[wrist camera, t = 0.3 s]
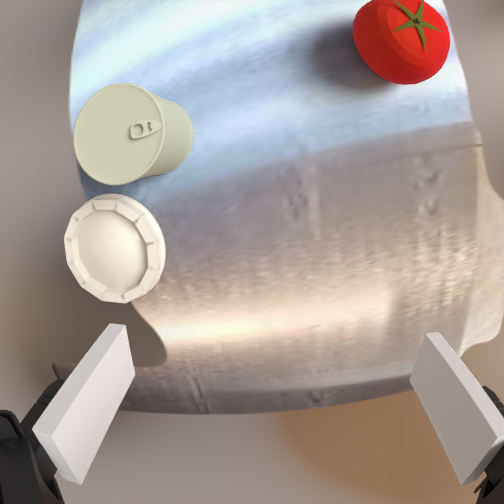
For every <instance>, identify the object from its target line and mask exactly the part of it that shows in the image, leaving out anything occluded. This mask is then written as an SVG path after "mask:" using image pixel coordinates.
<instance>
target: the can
mask: <svg viewBox="0 0 504 504" xmlns="http://www.w3.org/2000/svg"><path fill="white" fill-rule="evenodd" d="M193 141H194V128H193V124H192V121H191V119H190V117H189V115H188V114H187V112H186V111H185V110H184V109H183V108H182V107H181V106H179V105H178V104H176V103H174V102H172V101H169V100H164V99H162V98H160V97H158V96H156V95H154V94H152V93H150V92H149V91H147V90H146V89H144V88H143V87H140V86H138V85H135V84H130V83H118V84H113V85H110V86H107V87H105V88H103V89H101V90H99V91H98V92H96V93H95V94H94V95H93V96H91V98H90V99H89V100H88V101H87V102H86V103H85V105H84V106H83V107H82V109H81V111H80V113H79V115H78V117H77V120H76V123H75V127H74V134H73V144H74V151H75V154H76V157H77V160H78V162H79V164H80V166H81V167H82V169H83V170H84V171H85V172H86V173H87V174H88V175H89V176H90V177H91V178H93V179H94V180H96V181H98V182H100V183H103V184H107V185H123V184H127V183H130V182H133V181H135V180H137V179H140V178H144V177H148V176H152V175H162V174H166V173H169V172H171V171H173V170H175V169H176V168H178V167H179V166H180V165H181V164H182V163H183V162H184V161H185V160H186V158H187V157H188V155H189V153H190V151H191V149H192V146H193Z"/></svg>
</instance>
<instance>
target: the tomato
mask: <svg viewBox="0 0 504 504" xmlns="http://www.w3.org/2000/svg"><path fill="white" fill-rule="evenodd" d="M353 39H354V43H355V45H356V47H357V50H358V52H359V54H360V55H361V57H362V59H363V60H364V61H365V63H366V64H367V65H368V66H369V67H370V68H371V69H372V70H373V71H374V72H375V73H376V74H378V75H379V76H380V77H382V78H384V79H386V80H387V81H390V82H393V83H396V84H403V85H407V84H417V83H420V82H422V81H425V80H427V79H429V78H431V77H432V76H434V75H435V74H436V73H437V72H438V71H439V70H440V69H441V68H442V66H443V64H444V62H445V61H446V59H447V55H448V51H449V47H450V35H449V31H448V27H447V25H446V23H445V21H444V19H443V18H442V16H441V15H440V14H439V13H438V12H437V11H436V10H435V9H434V8H433V7H431V6H430V5H429V4H428V3H426V2H424V0H372V1H370V2H368V3H367V4H365V5H364V6H362V8H361V9H360V10H359V11H358V12H357V14H356V17H355V20H354V23H353Z"/></svg>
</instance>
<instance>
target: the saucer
mask: <svg viewBox="0 0 504 504" xmlns="http://www.w3.org/2000/svg"><path fill="white" fill-rule="evenodd" d="M64 243H65V251H66V259H67V263H68V266H69V268H70V269H71V271H72V273H73V274H74V276H75V277H76V279H77V281H78V283H79V284H80V285H81V287H83V288H84V289H86V290H87V291H88V292H90V293H91V294H93V295H94V296H96V297H97V298H99V299H100V300H102V301H110V302H118V303H127V302H129V301H131V300H133V299H136V298H138V297H141V296H143V295H144V294H146V293H147V292H149V291H150V290H151V289H152V288H153V287H154V286H155V284H156V283H157V282H158V280H159V279H160V277H161V275H162V273H163V270H164V267H165V263H166V242H165V238H164V234H163V232H162V229H161V227H160V225H159V223H158V221H157V219H156V218H155V216H154V215H153V214H152V213H151V211H150V210H149V209H148V208H147V207H146V206H144V205H143V204H142V203H140V202H139V201H138V200H136V199H134V198H132V197H130V196H127V195H123V194H119V193H107V194H102V195H99V196H96V197H94V198H91V199H90V200H88V201H87V202H85V203H84V204H83V205H82V206H81V207H80V208H79V209H78V210H77V211H76V212H75V213H74V214H73V215H72V217H71V220H70V222H69V225H68V228H67V230H66V233H65V236H64Z"/></svg>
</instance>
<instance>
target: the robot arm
mask: <svg viewBox="0 0 504 504" xmlns="http://www.w3.org/2000/svg"><path fill="white" fill-rule="evenodd" d="M134 376H135V371H134V367H133V362H132V357H131V352H130V347H129V342H128V336H127V331H126V326H125V325H119V324H109V325H108V327H107V328H106V329H105V330H104V332H103V333H102V334H101V335H100V337H99V338H98V339H97V341H96V342H95V343H94V344H93V346H92V347H91V348H90V350H89V351H88V352H87V354H86V355H85V356H84V357H83V359H82V360H81V361H80V363H79V364H78V365H77V367H76V368H75V369H74V371H73V372H72V373H71V375H70V376H69V377H68V379H67V380H62V379H58V380H56V381H55V382H53V383H52V384H50V385H49V386H48V387H47V388H46V390H45V391H44V392H43V394H42V396H40V398H39V399H38V400H37V403H35V404H34V405H33V407H32V408H31V409H30V411H29V412H28V414H27V415H26V416H25V418H24V419H23V420H22V422H21V423H19V421H18V419H17V418H16V416H15V415H14V414H13V413H12V412H11V411H8V410H0V504H65V503H64V501H63V498H62V496H61V492H60V490H59V487H58V484H57V481H56V479H55V478H54V475H55V473H56V471H57V470H58V471H59V473H60V474H61V476H62V477H63V478H64V479H67V480H70V481H72V482H75V483H78V484H82V482H83V480H84V478H85V476H86V474H87V471H88V469H89V467H90V465H91V463H92V461H93V459H94V456H95V455H96V452H97V450H98V448H99V446H100V444H101V442H102V440H103V438H104V436H105V433H106V432H107V429H108V427H109V425H110V423H111V421H112V419H113V417H114V415H115V413H116V411H117V409H118V407H119V405H120V403H121V401H122V399H123V397H124V395H125V393H126V392H127V390H128V388H129V386H130V384H131V382H132V380H133V378H134ZM409 381H410V383H411V385H412V386H413V388H414V390H415V392H416V394H417V396H418V398H419V400H420V401H421V403H422V405H423V407H424V409H425V411H426V413H427V415H428V417H429V419H430V421H431V423H432V425H433V427H434V429H435V431H436V433H437V435H438V437H439V439H440V441H441V443H442V445H443V447H444V449H445V451H446V454H447V456H448V458H449V460H450V462H451V464H452V466H453V469H454V471H455V473H456V475H457V478H458V480H459V482H460V484H461V485H464V484H467V483H469V482H472V481H474V480H477V478H478V477H479V476H480V475H481V474H482V473H483V471H485V473H486V475H487V476H486V478H485V479H484V480H483V481H482V482H481V484H480V485H479V486H478V487H477V488H476V489H475V491H474V493H476V492H477V491H478V490H479V489H480V488H481V490H480V493H479V496H478V499H477V502H476V504H504V405H503V404H502V403H501V402H500V400H499V398H498V397H497V396H496V394H495V393H494V392H493V391H492V390H490V389H488V388H487V387H486V386H482V387H481V385H480V384H479V383H478V381H477V380H476V379H475V377H474V376H473V375H472V373H471V372H470V371H469V370H468V368H467V367H466V366H465V364H464V363H463V362H462V361H461V359H460V358H459V357H458V355H457V354H456V353H455V352H454V350H453V349H452V348H451V347H450V345H449V344H448V343H447V342H446V340H445V339H444V338H443V337H442V336H441V334H440V333H439V332H436V333H425V336H424V339H423V342H422V346H421V349H420V352H419V355H418V358H417V361H416V364H415V366H414V369H413V372H412V375H411V378H410V380H409Z"/></svg>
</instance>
